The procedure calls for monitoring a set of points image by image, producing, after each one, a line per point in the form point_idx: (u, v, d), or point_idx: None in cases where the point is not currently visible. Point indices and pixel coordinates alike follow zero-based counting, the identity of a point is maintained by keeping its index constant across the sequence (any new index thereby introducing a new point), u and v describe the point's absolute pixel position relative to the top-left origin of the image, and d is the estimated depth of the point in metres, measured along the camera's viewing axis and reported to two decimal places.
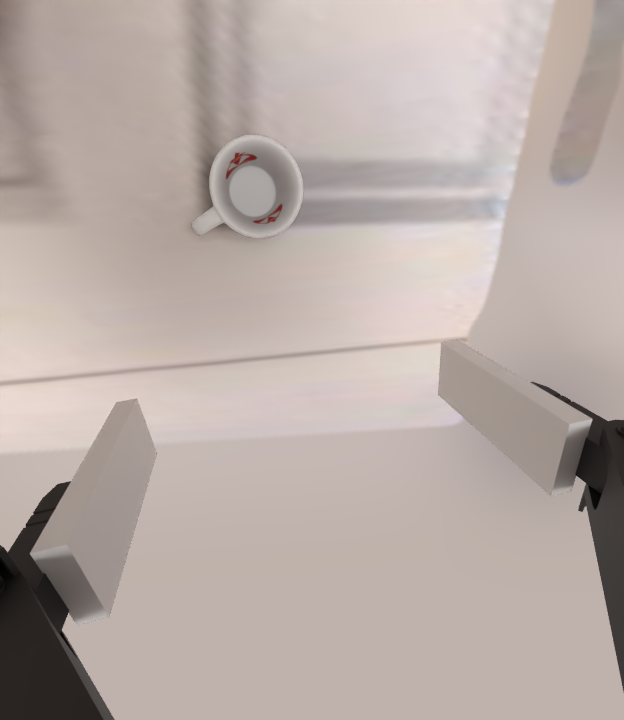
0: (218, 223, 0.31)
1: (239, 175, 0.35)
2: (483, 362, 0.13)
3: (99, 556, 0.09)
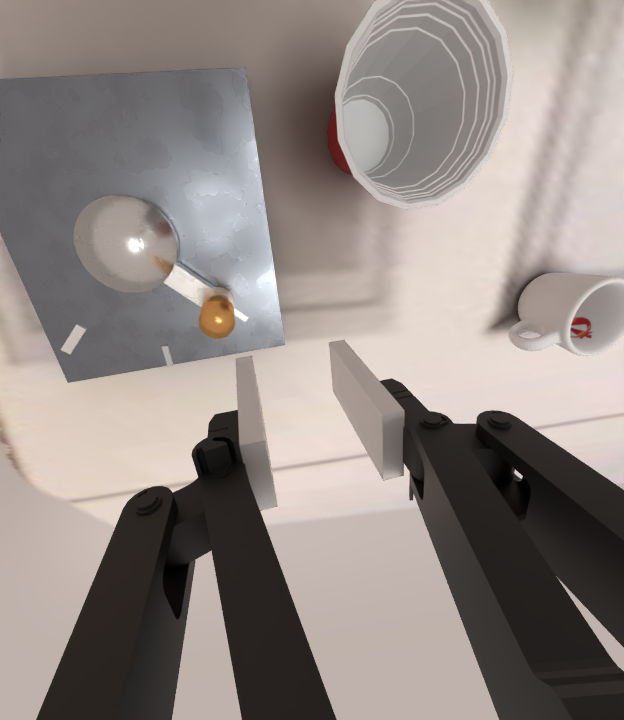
0: None
1: None
2: (351, 361, 0.15)
3: (269, 460, 0.12)
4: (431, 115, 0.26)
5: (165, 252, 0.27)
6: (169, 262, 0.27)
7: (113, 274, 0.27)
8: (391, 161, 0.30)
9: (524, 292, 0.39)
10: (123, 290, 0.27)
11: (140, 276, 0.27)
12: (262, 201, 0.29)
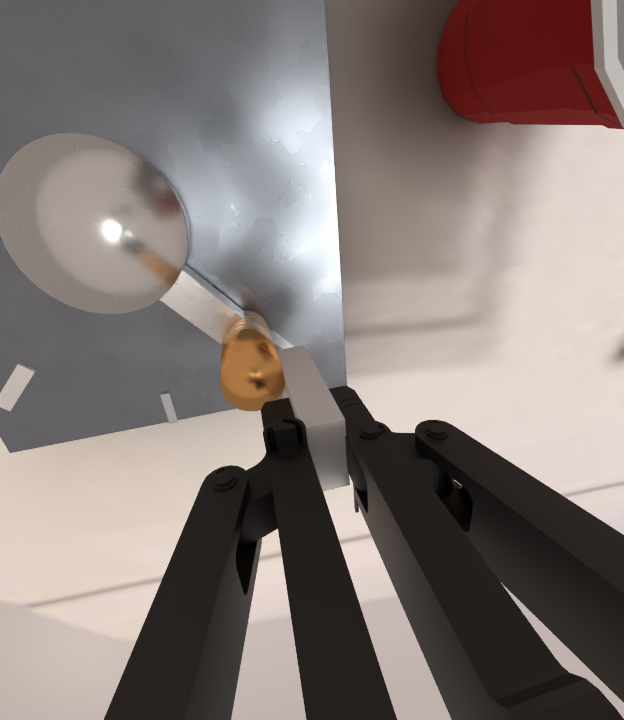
0: None
1: None
2: (306, 367, 0.14)
3: None
4: None
5: (167, 249, 0.15)
6: (173, 266, 0.16)
7: (69, 280, 0.15)
8: None
9: None
10: (86, 308, 0.15)
11: (119, 286, 0.15)
12: (330, 159, 0.17)
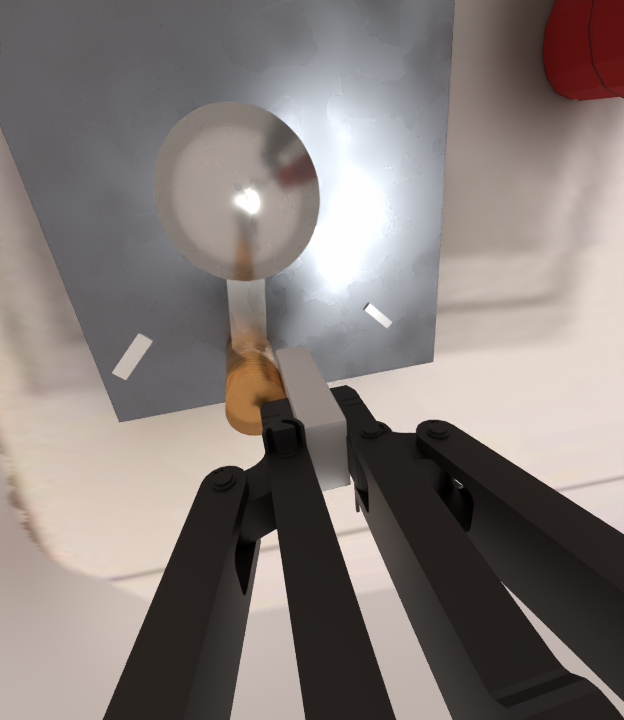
0: None
1: None
2: (306, 367, 0.14)
3: None
4: None
5: (272, 256, 0.16)
6: (263, 270, 0.16)
7: (183, 204, 0.15)
8: None
9: None
10: (170, 233, 0.15)
11: (212, 244, 0.16)
12: (443, 133, 0.18)
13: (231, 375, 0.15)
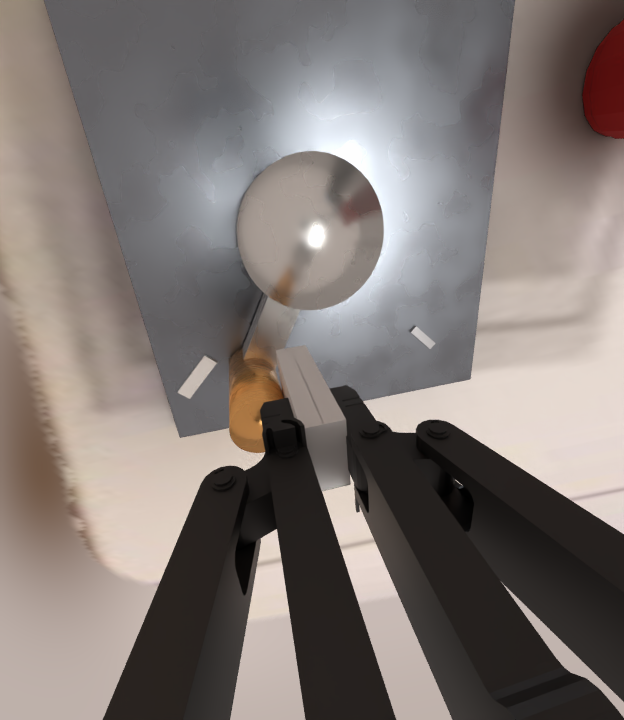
0: None
1: None
2: (306, 367, 0.14)
3: None
4: None
5: (317, 294, 0.17)
6: (304, 302, 0.17)
7: (263, 220, 0.16)
8: None
9: None
10: (240, 238, 0.16)
11: (271, 263, 0.16)
12: (492, 171, 0.19)
13: (243, 386, 0.16)
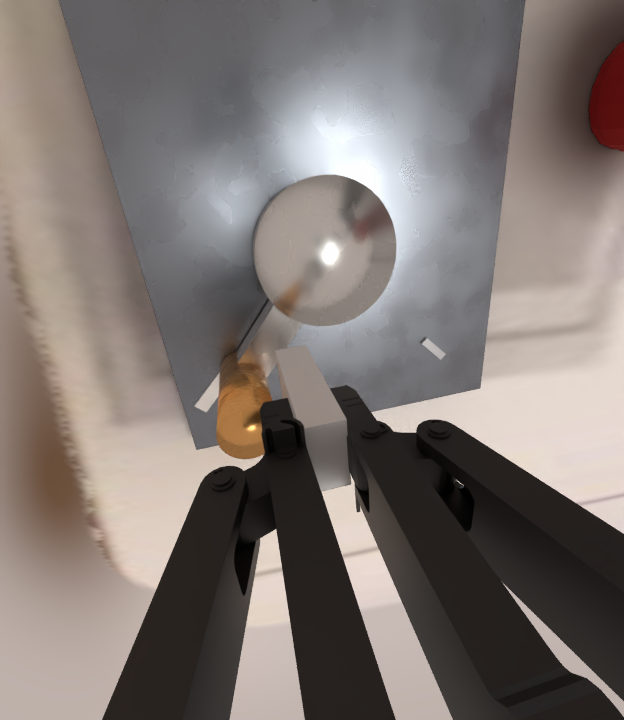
0: None
1: None
2: (307, 367, 0.14)
3: None
4: None
5: (322, 311, 0.18)
6: (308, 317, 0.18)
7: (283, 231, 0.16)
8: None
9: None
10: (258, 245, 0.16)
11: (283, 274, 0.17)
12: (500, 187, 0.20)
13: (236, 390, 0.16)
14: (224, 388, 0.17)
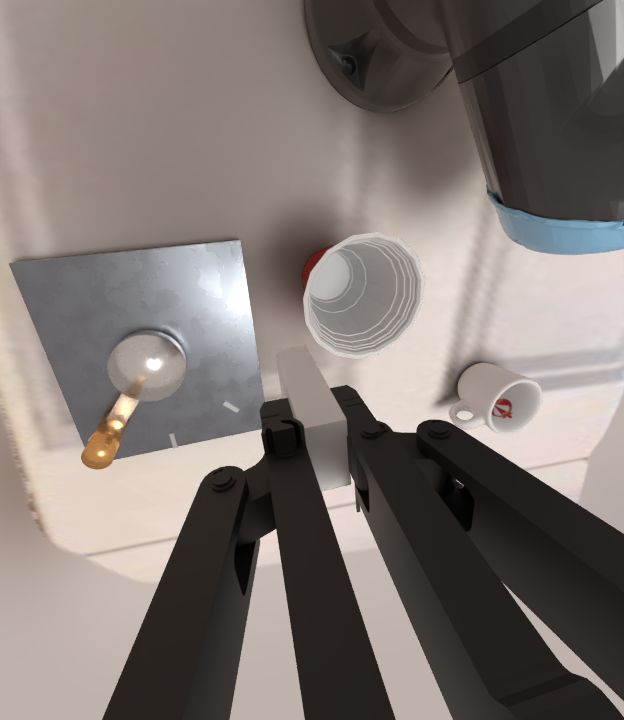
0: None
1: None
2: (307, 367, 0.14)
3: None
4: (377, 276, 0.35)
5: (148, 394, 0.35)
6: (141, 397, 0.35)
7: (121, 360, 0.33)
8: (351, 296, 0.39)
9: (461, 378, 0.49)
10: (109, 367, 0.33)
11: (124, 378, 0.34)
12: (251, 326, 0.38)
13: (96, 436, 0.33)
14: None
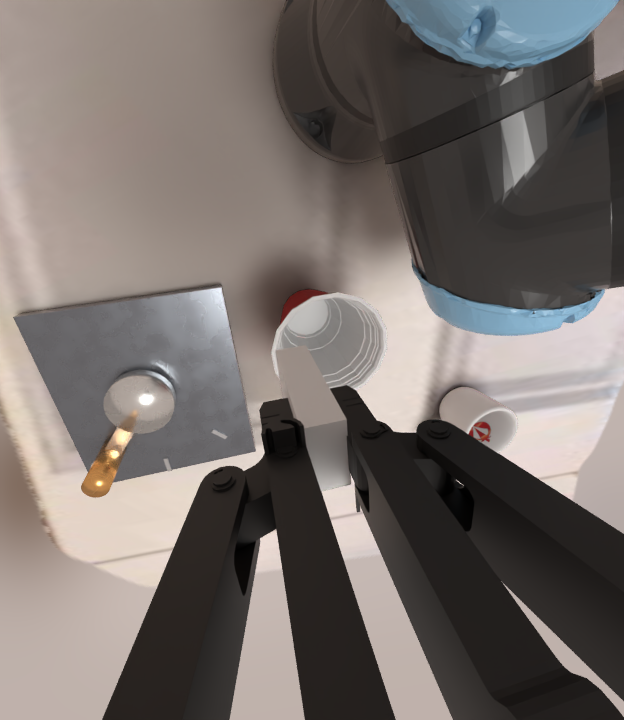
0: None
1: None
2: (307, 367, 0.14)
3: None
4: (349, 318, 0.37)
5: (141, 427, 0.39)
6: (135, 430, 0.39)
7: (115, 399, 0.37)
8: (328, 332, 0.41)
9: (442, 401, 0.51)
10: (104, 405, 0.37)
11: (119, 414, 0.38)
12: (235, 363, 0.41)
13: (94, 467, 0.37)
14: (92, 465, 0.38)
